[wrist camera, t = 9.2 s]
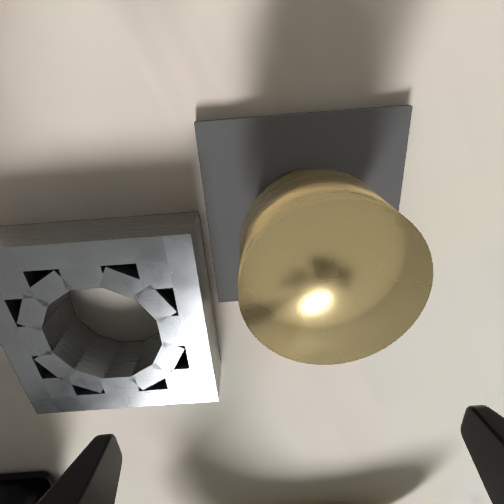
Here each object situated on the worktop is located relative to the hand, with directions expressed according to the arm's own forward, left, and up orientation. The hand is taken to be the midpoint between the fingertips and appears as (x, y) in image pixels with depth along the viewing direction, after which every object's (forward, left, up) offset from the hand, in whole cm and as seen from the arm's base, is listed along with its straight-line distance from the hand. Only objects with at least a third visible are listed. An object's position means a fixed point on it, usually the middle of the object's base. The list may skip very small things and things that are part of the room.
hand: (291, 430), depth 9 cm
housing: (-9, -3, -12) cm, 15 cm away
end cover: (+2, +2, -11) cm, 11 cm away
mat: (+2, +2, -12) cm, 12 cm away
